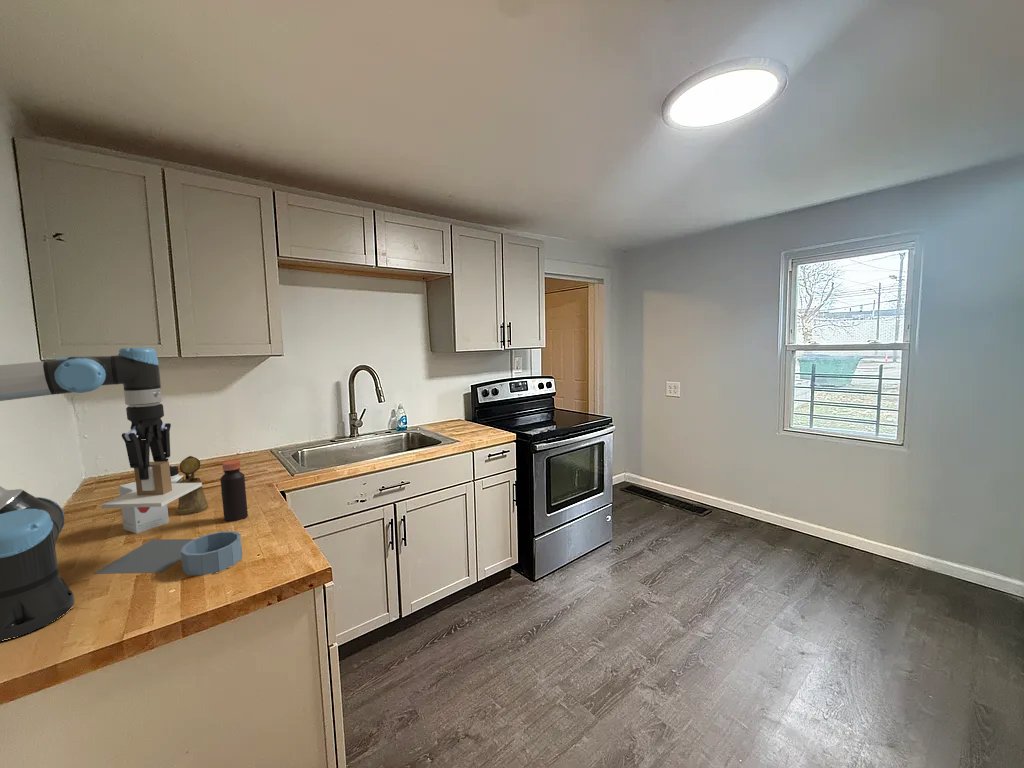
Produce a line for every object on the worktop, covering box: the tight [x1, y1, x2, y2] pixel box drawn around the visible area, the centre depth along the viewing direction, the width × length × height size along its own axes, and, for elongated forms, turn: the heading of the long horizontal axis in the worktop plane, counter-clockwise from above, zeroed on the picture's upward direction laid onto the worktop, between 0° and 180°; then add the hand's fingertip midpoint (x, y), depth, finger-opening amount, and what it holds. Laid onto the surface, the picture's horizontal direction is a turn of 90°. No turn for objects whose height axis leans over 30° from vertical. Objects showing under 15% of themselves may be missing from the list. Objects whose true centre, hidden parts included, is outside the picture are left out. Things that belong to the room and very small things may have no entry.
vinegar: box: [220, 459, 249, 523], centre depth 139 cm, size 7×7×20 cm
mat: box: [92, 538, 195, 575], centre depth 116 cm, size 18×18×1 cm
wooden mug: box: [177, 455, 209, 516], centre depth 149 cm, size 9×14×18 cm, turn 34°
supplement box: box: [118, 481, 170, 534], centre depth 134 cm, size 9×9×15 cm
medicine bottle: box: [169, 465, 185, 483], centre depth 160 cm, size 7×7×12 cm
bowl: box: [181, 530, 243, 576], centre depth 112 cm, size 13×13×6 cm
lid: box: [101, 460, 203, 509], centre depth 113 cm, size 15×15×10 cm
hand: (154, 487), depth 114 cm, fingers closed on lid, 3 cm apart
